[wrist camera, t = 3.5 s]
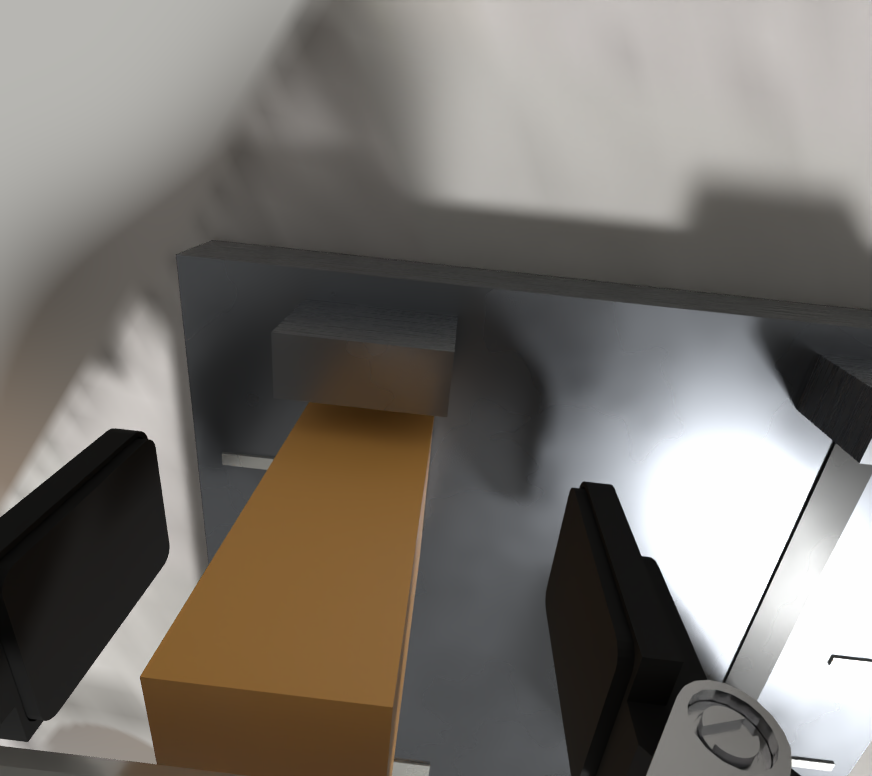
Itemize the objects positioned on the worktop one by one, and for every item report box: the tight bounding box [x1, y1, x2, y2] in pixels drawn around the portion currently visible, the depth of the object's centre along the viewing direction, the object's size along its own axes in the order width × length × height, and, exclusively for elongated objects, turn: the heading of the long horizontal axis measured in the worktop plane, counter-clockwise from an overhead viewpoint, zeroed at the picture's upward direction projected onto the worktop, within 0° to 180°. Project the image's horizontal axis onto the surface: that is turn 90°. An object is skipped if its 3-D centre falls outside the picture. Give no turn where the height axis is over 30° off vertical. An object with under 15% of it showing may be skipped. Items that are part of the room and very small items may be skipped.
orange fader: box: [140, 402, 434, 776], centre depth 9 cm, size 4×2×7 cm, turn 175°
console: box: [176, 240, 872, 776], centre depth 15 cm, size 21×18×4 cm
